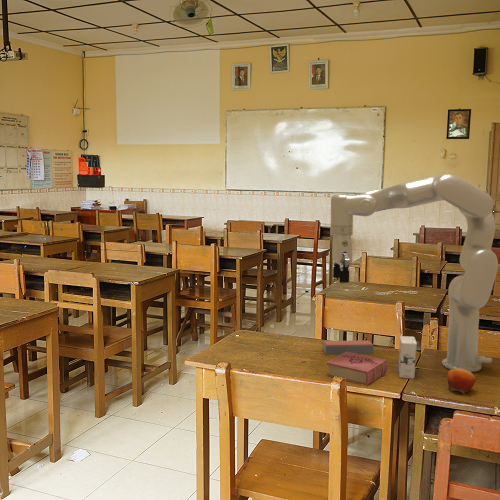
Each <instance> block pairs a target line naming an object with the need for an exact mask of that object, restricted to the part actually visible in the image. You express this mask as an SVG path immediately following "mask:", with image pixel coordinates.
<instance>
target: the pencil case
mask: <svg viewBox="0 0 500 500" xmlns="http://www.w3.org/2000/svg"><path fill="white" fill-rule="evenodd" d="M322 351H323V352H324V354H325V355H342V354H343V353H345V352H351V353H356V354H361V355H368V354H371V355H372V354H373V355H374V354H375V345H374V344H373V343H372V342H371V341H370V340H324V341H323V342H322Z"/></svg>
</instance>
